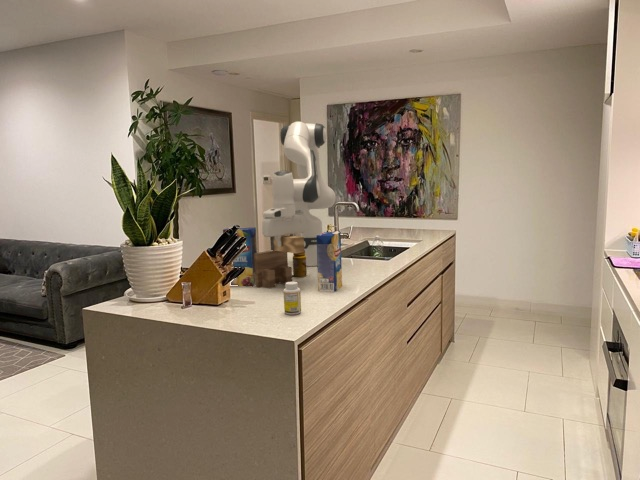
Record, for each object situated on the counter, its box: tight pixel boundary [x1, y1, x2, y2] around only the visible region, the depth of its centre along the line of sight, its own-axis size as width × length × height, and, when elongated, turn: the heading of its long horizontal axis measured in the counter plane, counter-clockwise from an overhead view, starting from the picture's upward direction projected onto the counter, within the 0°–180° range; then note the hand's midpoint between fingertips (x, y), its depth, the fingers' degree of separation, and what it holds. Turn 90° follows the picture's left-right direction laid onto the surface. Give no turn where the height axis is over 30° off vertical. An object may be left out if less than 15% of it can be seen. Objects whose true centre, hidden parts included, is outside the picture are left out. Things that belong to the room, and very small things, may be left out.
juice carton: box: [222, 226, 258, 288], centre depth 208 cm, size 12×8×24 cm, turn 80°
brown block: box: [254, 250, 293, 289], centre depth 206 cm, size 7×16×14 cm, turn 133°
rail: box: [269, 235, 304, 254], centre depth 198 cm, size 16×4×6 cm, turn 43°
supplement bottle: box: [283, 281, 302, 316], centre depth 163 cm, size 6×6×10 cm
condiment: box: [292, 250, 310, 280], centre depth 222 cm, size 7×8×12 cm
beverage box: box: [316, 231, 343, 293], centre depth 196 cm, size 7×11×22 cm, turn 164°
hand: (285, 245), depth 199 cm, fingers closed on rail, 4 cm apart
